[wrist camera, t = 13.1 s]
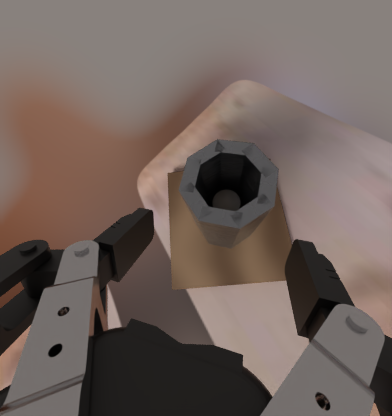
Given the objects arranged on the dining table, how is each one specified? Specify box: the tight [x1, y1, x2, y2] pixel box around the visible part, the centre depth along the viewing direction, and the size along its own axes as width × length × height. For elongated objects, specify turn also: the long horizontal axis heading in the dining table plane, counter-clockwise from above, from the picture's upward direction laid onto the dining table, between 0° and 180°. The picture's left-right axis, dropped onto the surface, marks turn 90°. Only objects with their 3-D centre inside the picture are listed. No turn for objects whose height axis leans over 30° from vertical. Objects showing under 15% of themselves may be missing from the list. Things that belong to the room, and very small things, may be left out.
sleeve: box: [179, 139, 279, 249], centre depth 17 cm, size 6×6×10 cm
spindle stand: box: [168, 159, 292, 290], centre depth 20 cm, size 13×14×7 cm
